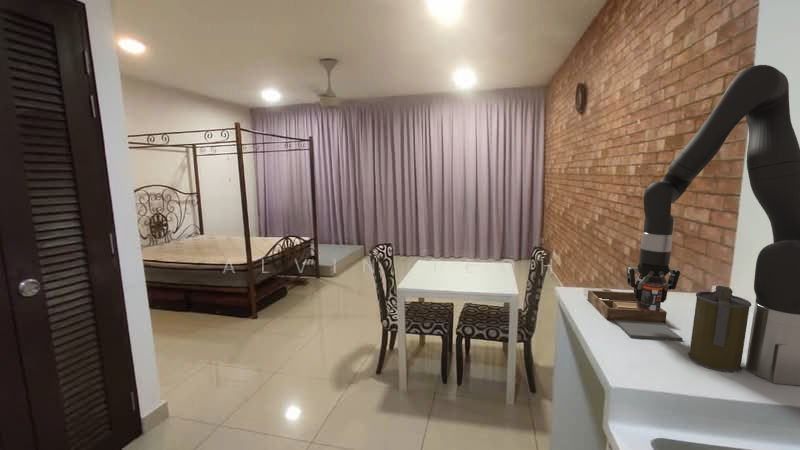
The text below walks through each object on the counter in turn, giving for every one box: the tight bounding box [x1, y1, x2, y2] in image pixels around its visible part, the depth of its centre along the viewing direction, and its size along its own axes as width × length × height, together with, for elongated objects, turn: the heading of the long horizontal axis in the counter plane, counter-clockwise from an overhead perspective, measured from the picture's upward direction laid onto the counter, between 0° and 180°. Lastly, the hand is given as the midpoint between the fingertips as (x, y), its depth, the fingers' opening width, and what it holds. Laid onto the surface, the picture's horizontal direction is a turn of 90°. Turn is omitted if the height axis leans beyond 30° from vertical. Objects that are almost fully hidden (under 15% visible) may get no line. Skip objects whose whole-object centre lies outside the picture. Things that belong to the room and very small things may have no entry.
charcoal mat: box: [614, 320, 683, 342], centre depth 109 cm, size 11×14×1 cm
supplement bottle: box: [637, 276, 663, 313], centre depth 108 cm, size 6×6×11 cm
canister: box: [687, 285, 752, 373], centre depth 90 cm, size 11×10×20 cm
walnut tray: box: [587, 290, 668, 325], centre depth 124 cm, size 18×18×4 cm
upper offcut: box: [613, 302, 639, 310], centre depth 119 cm, size 5×10×2 cm, turn 77°
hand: (649, 300), depth 108 cm, fingers closed on supplement bottle, 6 cm apart
